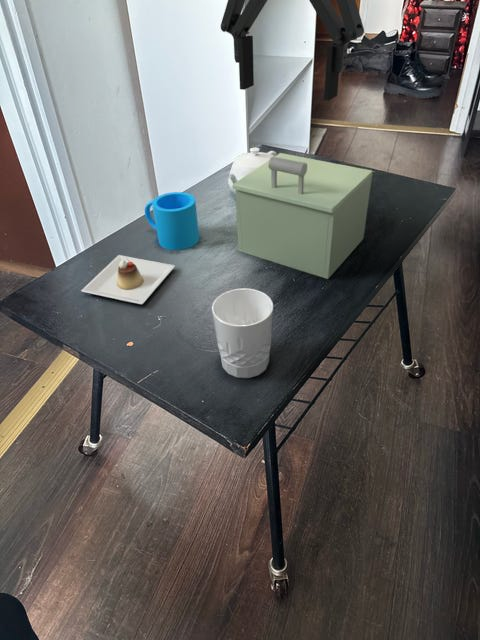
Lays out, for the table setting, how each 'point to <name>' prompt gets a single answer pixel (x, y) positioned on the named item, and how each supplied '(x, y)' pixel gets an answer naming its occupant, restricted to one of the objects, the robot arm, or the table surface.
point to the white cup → (243, 331)
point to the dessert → (129, 279)
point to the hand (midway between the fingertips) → (286, 92)
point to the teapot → (247, 164)
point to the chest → (301, 231)
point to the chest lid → (304, 181)
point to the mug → (174, 220)
